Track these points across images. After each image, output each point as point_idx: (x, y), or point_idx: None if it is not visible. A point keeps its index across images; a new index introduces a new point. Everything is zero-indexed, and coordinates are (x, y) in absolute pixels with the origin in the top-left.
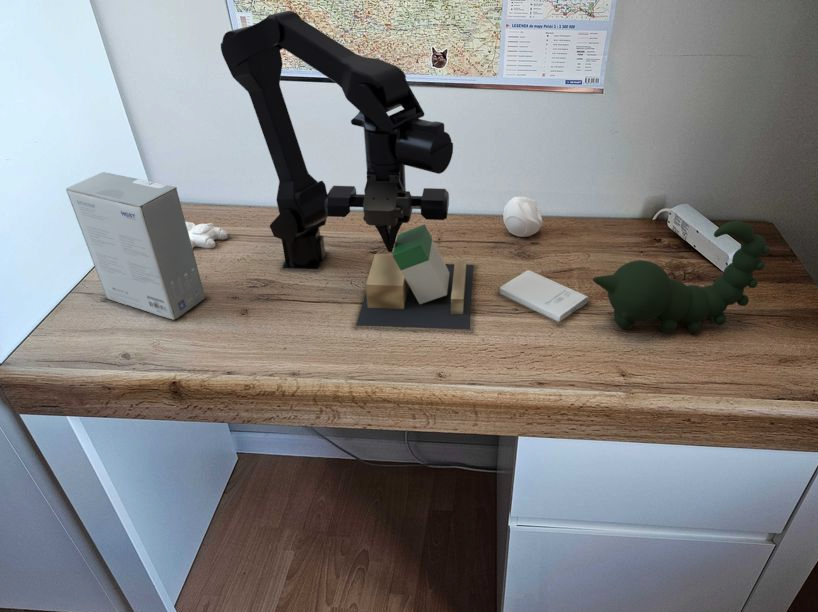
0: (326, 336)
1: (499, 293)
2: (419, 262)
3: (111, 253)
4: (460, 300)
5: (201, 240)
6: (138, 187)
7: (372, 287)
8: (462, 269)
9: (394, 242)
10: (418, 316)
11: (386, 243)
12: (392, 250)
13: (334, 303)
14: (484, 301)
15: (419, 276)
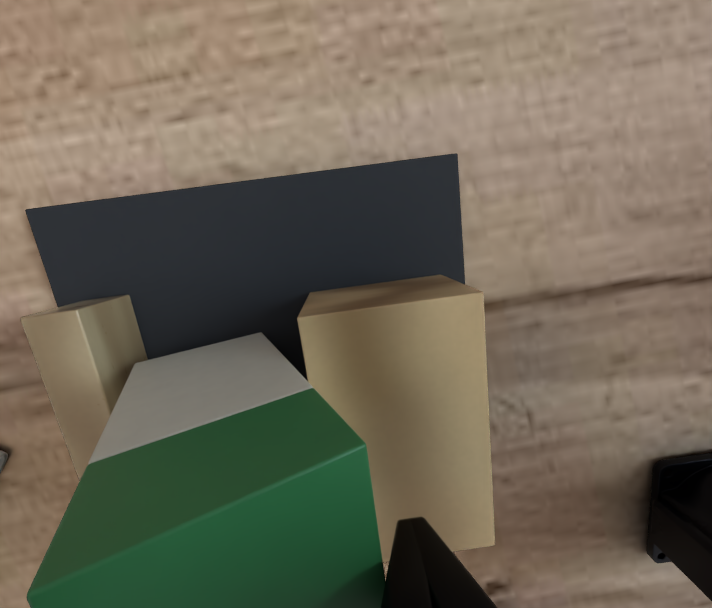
0: (550, 74)
1: (4, 454)
2: (169, 439)
3: None
4: (39, 314)
5: None
6: None
7: (445, 292)
8: None
9: (383, 601)
10: (243, 256)
11: (451, 577)
12: (395, 531)
13: (562, 289)
14: (50, 405)
15: (215, 385)
